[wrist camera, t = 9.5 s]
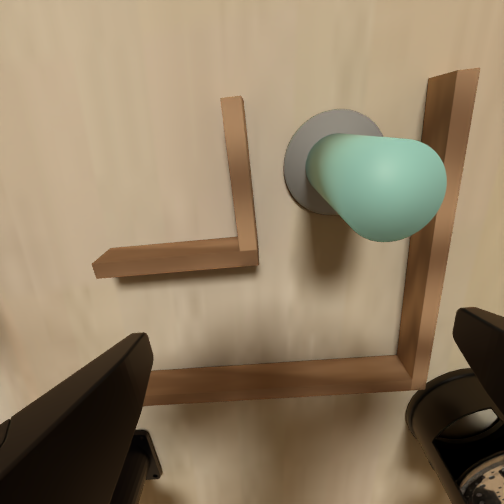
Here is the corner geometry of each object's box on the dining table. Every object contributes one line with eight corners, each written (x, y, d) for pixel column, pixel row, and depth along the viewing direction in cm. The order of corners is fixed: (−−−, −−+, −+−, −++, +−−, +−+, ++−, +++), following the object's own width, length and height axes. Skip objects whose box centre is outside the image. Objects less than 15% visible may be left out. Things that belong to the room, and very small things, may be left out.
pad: (381, 208, 19) (383, 210, 18) (286, 217, 19) (287, 219, 19) (389, 103, 16) (391, 102, 16) (280, 115, 17) (281, 115, 16)
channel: (408, 363, 24) (425, 389, 21) (151, 380, 25) (140, 406, 22) (448, 76, 16) (480, 67, 14) (70, 120, 17) (41, 119, 15)
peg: (364, 192, 18) (438, 237, 11) (306, 197, 18) (340, 246, 11) (367, 130, 17) (454, 133, 9) (304, 136, 17) (342, 145, 9)
